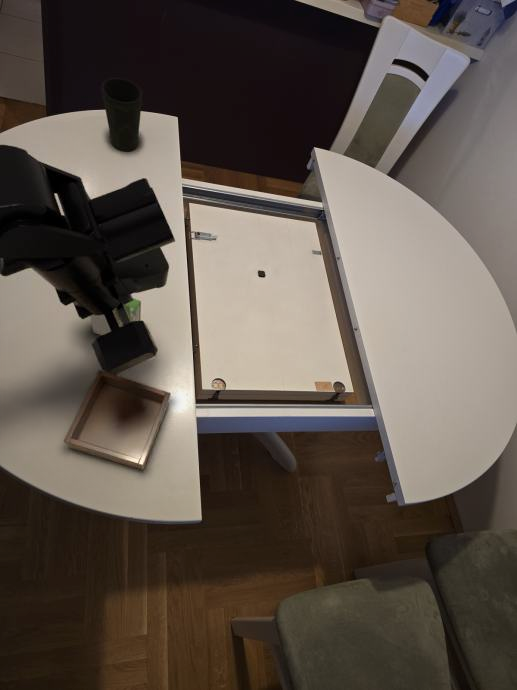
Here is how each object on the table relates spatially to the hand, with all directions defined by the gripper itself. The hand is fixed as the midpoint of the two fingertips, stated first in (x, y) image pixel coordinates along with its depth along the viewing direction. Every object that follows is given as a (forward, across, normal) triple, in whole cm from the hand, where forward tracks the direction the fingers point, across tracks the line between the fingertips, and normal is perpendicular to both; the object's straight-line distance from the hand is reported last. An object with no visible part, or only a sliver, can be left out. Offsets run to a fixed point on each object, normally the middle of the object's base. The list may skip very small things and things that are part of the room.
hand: (126, 319), depth 54 cm
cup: (+21, +49, -12) cm, 55 cm away
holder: (+12, -10, +9) cm, 18 cm away
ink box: (+14, +5, +4) cm, 16 cm away
